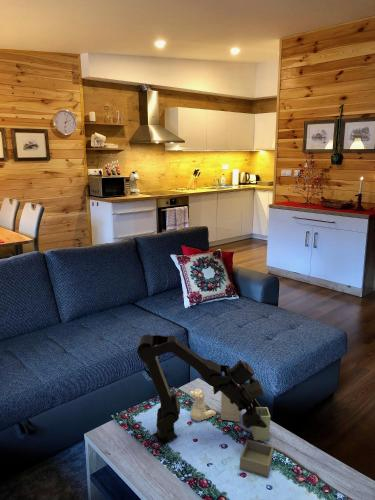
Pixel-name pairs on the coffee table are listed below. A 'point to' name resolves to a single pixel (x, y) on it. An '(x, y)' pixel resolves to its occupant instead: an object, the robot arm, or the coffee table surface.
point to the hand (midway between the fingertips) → (263, 418)
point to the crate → (256, 458)
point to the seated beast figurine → (200, 406)
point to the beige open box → (261, 432)
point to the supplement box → (229, 410)
